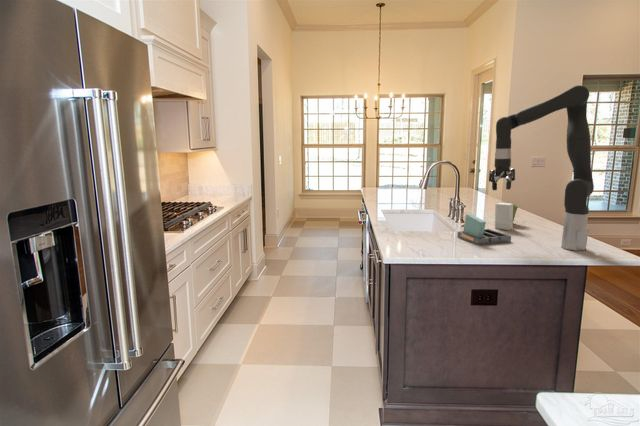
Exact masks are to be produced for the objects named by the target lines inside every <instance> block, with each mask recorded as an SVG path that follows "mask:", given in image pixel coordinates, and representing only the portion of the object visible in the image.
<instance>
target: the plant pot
mask: <svg viewBox="0 0 640 426" xmlns="http://www.w3.org/2000/svg"><path fill="white" fill-rule="evenodd" d="M519 206H520V205H518V204H517V205H516V204H513V222H514V221H515V217H516V214H517V210H518V208H519Z"/></svg>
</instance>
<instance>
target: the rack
mask: <svg viewBox="0 0 640 426" xmlns="http://www.w3.org/2000/svg"><path fill="white" fill-rule="evenodd" d="M457 238H459V239H461V240H463V241H464V240H465V241H467V242H469V243H472V244H474V245H477V246H482V245H492V244H493V245H495V244H501V243H511V242H512V236H511V235H509V234H505V233H502V232H501V231H496V230H493V229H490V228H485V229H484V234H483V238H477V237H474V236H472V235H469V234H466V233H464V232H463V230H460V231H459V230H458V231H457Z"/></svg>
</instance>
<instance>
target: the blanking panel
mask: <svg viewBox="0 0 640 426" xmlns="http://www.w3.org/2000/svg"><path fill="white" fill-rule="evenodd" d="M464 219H465V220H464V225H463V229H462V231H463V232H464V233H466V234H469V235H472V236H474V237H477V238H483V234H484V229H486V223H487V222H486V221H485V220H483V219H482V218H480V217H478V216H475V215H474V214H472V213H466V214H465V217H464Z"/></svg>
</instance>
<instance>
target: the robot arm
mask: <svg viewBox="0 0 640 426" xmlns="http://www.w3.org/2000/svg"><path fill="white" fill-rule="evenodd" d="M589 98H590V91H589V89H588V88H587V87H586V86H584V85H574V86H572V87H570V88H569V89H567V90H565V91H564V92H562V93H560V94H559V95H556V96H553V97H552V98H549V99H547V100H544V101H542V102H539V103H537V104H534V105H531V106H529V107H528V106H527V107H526V108H524V109H521V110H519V111H517V112H515V113H513V114H510V115H508V116H503V117H502V116H501V117H500V118H498V119H497V121H496V125H495V135H496V138H495V140H496V141H495V152H494V168H495V169H490V170H489V173H488V182H489V183H491V190H492V191H497V190H498V182H499V180H500V179H505V181H506V183H505V184H506V185H505V189H506V190H511V188H512V183H513V181H515V180H516V169H515V168H511V166H512V138H511V134H512V130H513V129H516V128H519V127H520V126H524V125H527V124H531V123H532V122H535V121H537V120H539V119H542V118H544V117H547V115H550V114H553V113H554V112H558V111H560V110H563V109H566V114H567V126H566V127H567V128H566V152H567V156H568V158H569V161H570V163H571V165H572V166H571V167H572V170H573V171H572V172H573V173H572V175H573V177H572V178H573V179H572V180H570V181H569V182H568V183H567V184H566V186H565V191H564V205H563V206H564V209H565V210H564V218H563V226H562V227H563V228H562V234H561V235H562V236H561V245H560V247H561V248H562V249H566V250H570V251H575V252H578V251H586V250H587V244H588V236H589V230H588V228H587V226H588V220H589V219H588V217H589V212H590V211H589V210H590V209H589V207H588V204H587V203H588V197H590V196H592V193H593V192H594V188H595V185H594V179H593V173H592V165H591V164H592V156H591V155H592V153H591V152H592V151H591V150H592V149H591V148H592V147H591V144H592V143H591V132H590V128H589V127H590V126H589V122H588V119H587V118H588V116H587V109H588V102H589V101H588V100H589ZM585 249H586V250H585Z"/></svg>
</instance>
